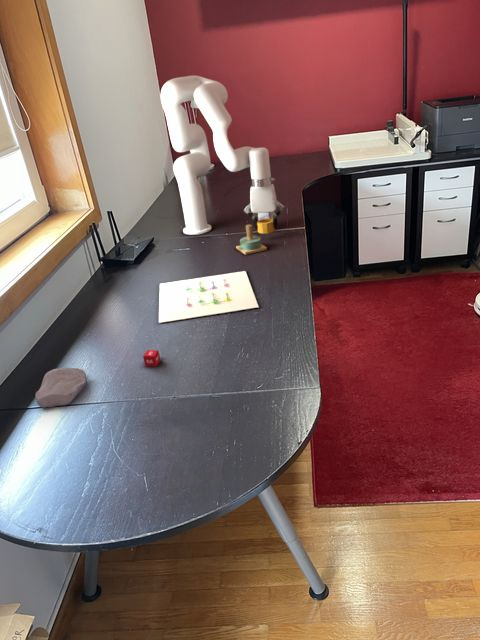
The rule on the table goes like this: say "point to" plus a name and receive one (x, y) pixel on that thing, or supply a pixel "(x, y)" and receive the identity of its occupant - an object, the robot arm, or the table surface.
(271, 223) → the ring
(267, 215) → the ink box
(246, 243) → the stacking peg
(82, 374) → the stone block
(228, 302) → the printed paper
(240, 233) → the table surface
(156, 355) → the dice
